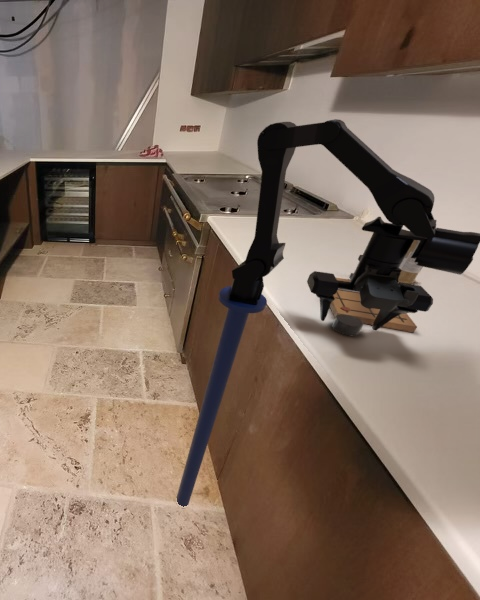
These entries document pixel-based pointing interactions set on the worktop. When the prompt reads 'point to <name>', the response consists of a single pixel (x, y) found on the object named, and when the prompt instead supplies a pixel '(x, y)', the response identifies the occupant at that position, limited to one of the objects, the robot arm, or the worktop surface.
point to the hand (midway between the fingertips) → (347, 324)
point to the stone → (347, 325)
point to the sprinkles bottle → (409, 267)
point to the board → (366, 311)
